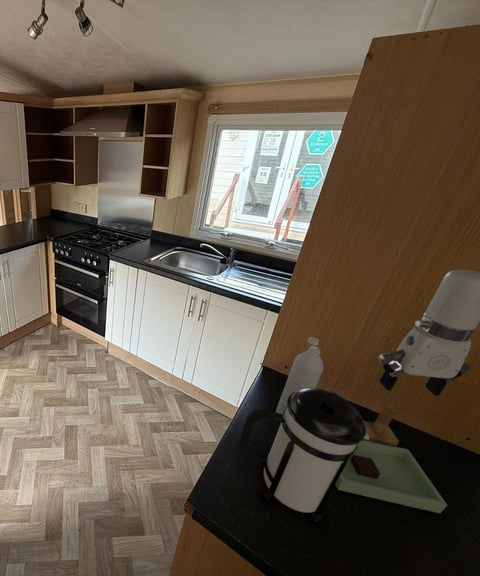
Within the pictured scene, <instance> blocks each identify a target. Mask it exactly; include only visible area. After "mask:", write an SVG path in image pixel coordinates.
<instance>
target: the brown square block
mask: <svg viewBox="0 0 480 576" xmlns="http://www.w3.org/2000/svg"><path fill="white" fill-rule="evenodd" d="M350 460H351V462H352V464H353V466H354V468H355V470H356V472H357V474H358V475H361V476H365V477H370V478H375V479H377V478H378V477H379V475H380V472H379V470H378V469H377V467H376V465H375V463H374V462H373V460H372V459H371V458H367V457H362V456H357V455H353V456H352V457H351V459H350Z"/></svg>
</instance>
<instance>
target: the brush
mask: <svg viewBox="0 0 480 576" xmlns="http://www.w3.org/2000/svg"><path fill="white" fill-rule="evenodd" d="M395 415H396V413H395V411H394V410H392V409H391V408H388V407H383V408H382V409H381V411H380V413H379V414H378V416H377V418H376V420H375V421H374V422H372V421H366V420H363V422H364V424H365V427H366V432H367V434H368V436H369V440H367V439H363V441H368V442H373V443H378V444H383V445H388V446H393V447H398V445H399V443H400V440H399V439H398V438H397V436H396V435H395V434H394V431H393V430H392V429H391V428H390V426H389V425H390V423H391V421H392V420H393V419H394V416H395Z"/></svg>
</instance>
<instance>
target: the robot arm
mask: <svg viewBox="0 0 480 576" xmlns="http://www.w3.org/2000/svg"><path fill="white" fill-rule="evenodd" d="M435 291H436V292H435V293H434V295H433V297H432V299H431V300H430V302H429V304H428V306H427V308H426V310H425V312H424V313H423V314H422V316H421V318H420V319H419V320H415V322H414V325H415V326H414V327H412V329H411V330H410V331H408V333H407V335H405V336H404V338H403V339H402V341H401V342H400V343H399V345H398V347H397V349H396V350H395V351H391V352H387V353H383V354H380V355H378V360H379V365H380V366H381V367H382V369H383V371H384V372H383V373H382V375H381V376H380V379H379V383H380V385H381V386H383V387H384V388H385V391H389V392H390V391H392V390H393V388H394V386H395V385H396V383H397V382H398V376H399V375H401V374H407V375H411V376H418V377H428V378H429V379H428V380H427V382H425V385H424V387H425V388H426V389H427V390H428V391H429V392H430V393H431V394H432V395H434V396H435V397H440V395H441V393H442V392H443V390H444V389H445V388H446V386H447V384H450V383H453V382H454V379H457V378H459V377H461V376H463V374H464V373H466V372H468V371H469V370H471V369H472V366H471V365H470V364H468V363H467V362H465V361H466V359H467V357H468V355H469V352H470V349H471V345H472V338H471V337H472V335H473V334H474V332H475V330H476V329H477V327H478V326H479V324H480V271H476V270H471V269H453V270H450V271H449V272H447V273H446V274H445V276H444V277H443V278H442V281H441V282H440V283H439V286H438V287H437V290H435ZM397 367H398V368H397ZM394 368H396V369H394Z"/></svg>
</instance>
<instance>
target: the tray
mask: <svg viewBox="0 0 480 576" xmlns="http://www.w3.org/2000/svg"><path fill="white" fill-rule="evenodd" d="M353 455H357V456H362V457H367V458H371V459H372V460H373V462H374V463H375V465H376V467H377V469H378V470H379V472H380V475H379V477H378V478H377V479H375V478H370V477H365V476H361V475H358V474H357V472H356V470H355V468H354V466H353V464H352V462H351V460H350V459H351V458H350V459H349V460H348V461H347V464H346V466H345V467H344V469H343V471H342V473H341V475H340V476H339V478H338V480H337V482H336V483H335V485H334V486H335V487H336V489H337V490H338V491H342V492H345V493H351V494H354V495H359V496H363V497H366V498H367V497H368V498H371V499H376V500H380V501H384V502H389V503H393V504H398V505H402V506H406V507H409V508H414V509H419V510H424V511H427V512H432V513H437V514H442V512H443V511H444V510H445V509H446V507H448V504H447V503H446V501H445V500H444V498H443V497H442V495H441V494H440V492H439V491H438V490H437V488H436V487H435V485H434V484H433V482H432V481H431V480H430V478H429V477H428V476H427V474H426V473H425V471H424V470H423V468H422V467H421V465H420V464H419V463H418V461H417V460H416V458H415V457H414V455H413V454H412V453H411V451H410V450H409V449H408V448H403V447H399V446H396V447H393V446H388V445H383V444H378V443H373V442H368V441H363V440H362V441H361V442H360V443H358V444H357V448H356V450H355V452H354V454H353ZM353 455H352V456H353Z"/></svg>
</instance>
